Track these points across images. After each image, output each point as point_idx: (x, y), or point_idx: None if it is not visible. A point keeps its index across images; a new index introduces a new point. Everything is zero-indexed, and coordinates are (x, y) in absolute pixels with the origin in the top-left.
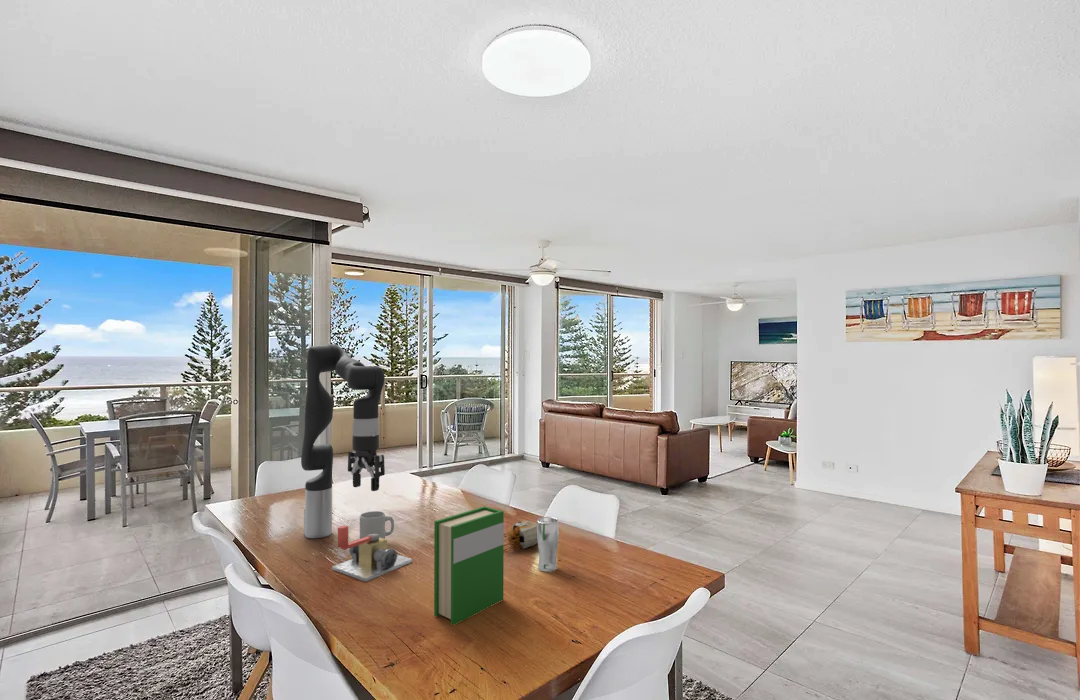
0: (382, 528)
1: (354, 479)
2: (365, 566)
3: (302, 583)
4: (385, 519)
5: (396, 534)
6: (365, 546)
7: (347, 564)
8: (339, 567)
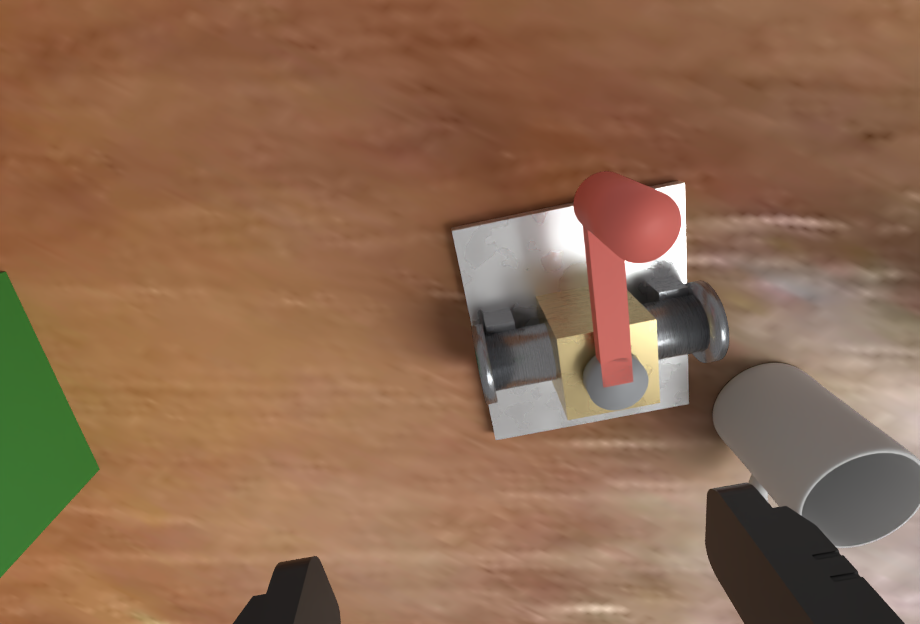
0: (758, 477)
1: (788, 591)
2: (567, 286)
3: (648, 6)
4: None
5: None
6: None
7: None
8: None
